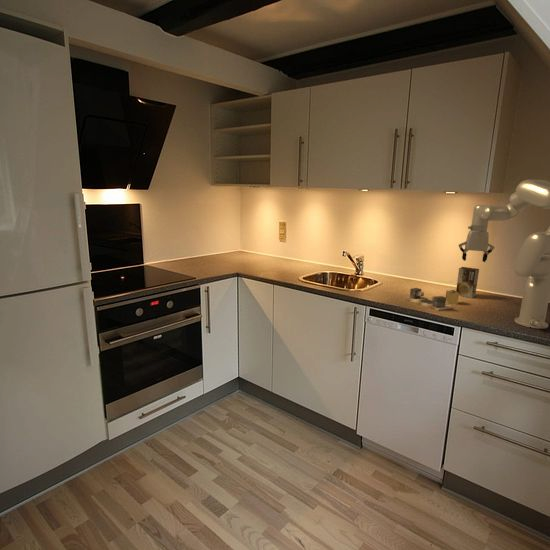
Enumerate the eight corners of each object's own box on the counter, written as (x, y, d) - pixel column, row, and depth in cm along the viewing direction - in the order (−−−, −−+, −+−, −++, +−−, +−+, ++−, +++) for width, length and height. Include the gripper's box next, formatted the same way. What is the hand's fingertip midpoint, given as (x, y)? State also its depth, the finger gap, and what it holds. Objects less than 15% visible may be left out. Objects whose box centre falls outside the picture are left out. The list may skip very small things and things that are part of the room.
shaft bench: (452, 307, 187) (453, 296, 185) (437, 310, 182) (439, 299, 180) (418, 297, 205) (420, 287, 203) (404, 299, 200) (406, 289, 198)
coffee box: (475, 296, 210) (479, 268, 207) (471, 298, 206) (476, 270, 203) (459, 293, 217) (462, 266, 213) (455, 294, 212) (458, 267, 209)
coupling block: (457, 304, 194) (459, 292, 192) (447, 303, 195) (449, 291, 193) (454, 301, 198) (456, 289, 197) (445, 301, 199) (446, 288, 198)
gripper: (462, 228, 191) (458, 261, 195) (499, 230, 187) (494, 263, 191) (459, 227, 199) (454, 258, 202) (494, 229, 195) (489, 260, 198)
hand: (473, 260), depth 197 cm, fingers open, 9 cm apart
